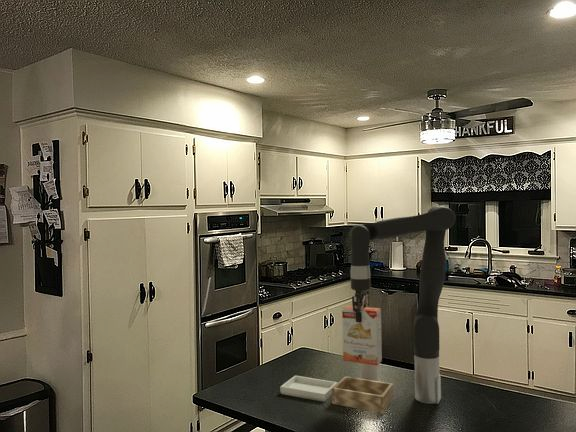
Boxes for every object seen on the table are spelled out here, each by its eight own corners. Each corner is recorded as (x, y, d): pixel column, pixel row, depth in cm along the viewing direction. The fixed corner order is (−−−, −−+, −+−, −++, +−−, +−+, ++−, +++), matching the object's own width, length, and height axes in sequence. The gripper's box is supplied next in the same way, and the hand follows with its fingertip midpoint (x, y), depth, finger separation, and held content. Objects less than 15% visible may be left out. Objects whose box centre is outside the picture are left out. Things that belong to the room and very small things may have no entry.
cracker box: (342, 361, 183) (341, 307, 183) (348, 356, 189) (346, 304, 188) (377, 366, 177) (376, 310, 176) (382, 361, 182) (381, 307, 182)
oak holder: (393, 398, 185) (393, 383, 185) (383, 413, 172) (383, 396, 172) (345, 390, 194) (345, 376, 194) (332, 403, 182) (332, 388, 181)
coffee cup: (379, 378, 207) (378, 344, 207) (381, 386, 197) (380, 350, 197) (357, 377, 208) (356, 343, 208) (358, 386, 198) (357, 350, 198)
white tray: (337, 389, 195) (337, 382, 195) (324, 402, 183) (324, 394, 183) (295, 382, 204) (295, 375, 204) (280, 393, 192) (280, 386, 192)
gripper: (363, 280, 174) (364, 325, 174) (375, 274, 187) (376, 317, 187) (344, 279, 177) (345, 323, 178) (357, 273, 190) (358, 315, 191)
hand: (361, 320), depth 182 cm, fingers closed on cracker box, 6 cm apart
